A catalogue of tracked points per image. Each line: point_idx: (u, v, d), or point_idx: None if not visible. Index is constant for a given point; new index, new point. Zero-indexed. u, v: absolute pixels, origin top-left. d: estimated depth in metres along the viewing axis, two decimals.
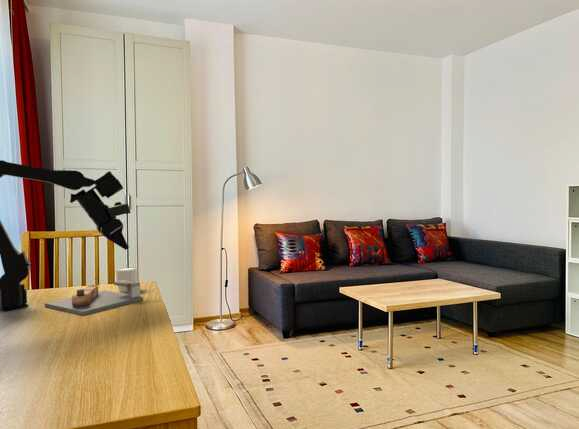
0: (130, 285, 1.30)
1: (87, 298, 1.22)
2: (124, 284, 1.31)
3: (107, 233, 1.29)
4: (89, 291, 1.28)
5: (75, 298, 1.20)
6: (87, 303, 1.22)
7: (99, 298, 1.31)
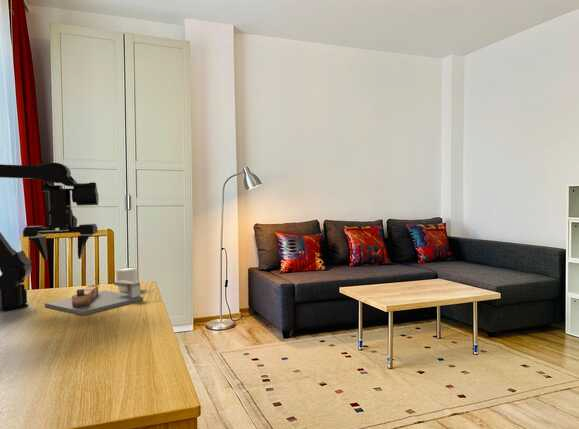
0: (130, 285, 1.30)
1: (87, 298, 1.22)
2: (124, 284, 1.31)
3: (93, 232, 1.29)
4: (89, 291, 1.28)
5: (75, 298, 1.20)
6: (87, 303, 1.22)
7: (99, 298, 1.31)
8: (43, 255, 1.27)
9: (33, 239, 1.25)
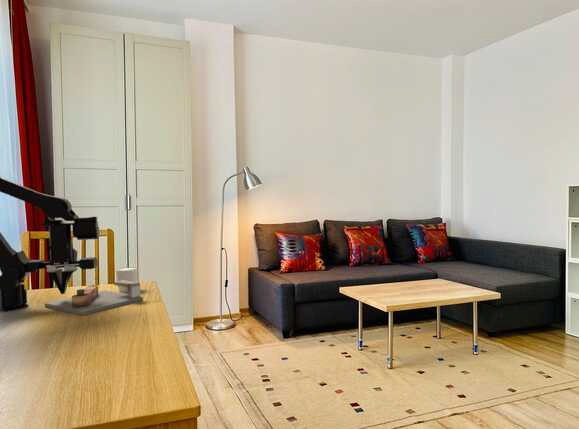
0: (130, 285, 1.30)
1: (87, 298, 1.22)
2: (124, 284, 1.31)
3: (94, 266, 1.29)
4: (89, 291, 1.28)
5: (75, 298, 1.20)
6: (87, 303, 1.22)
7: (99, 298, 1.31)
8: (60, 289, 1.28)
9: (50, 273, 1.26)
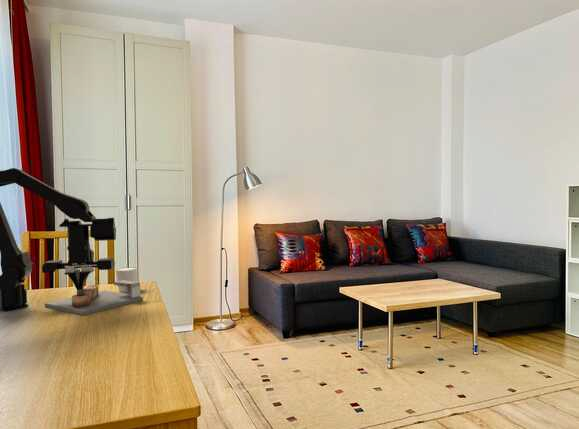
0: (130, 285, 1.30)
1: (87, 298, 1.22)
2: (124, 284, 1.31)
3: (111, 267, 1.30)
4: (89, 291, 1.28)
5: (75, 298, 1.20)
6: (87, 303, 1.22)
7: (99, 298, 1.31)
8: (78, 289, 1.30)
9: (69, 274, 1.27)
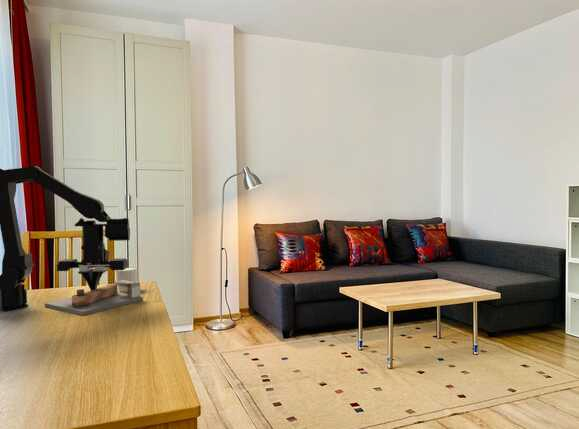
0: (130, 285, 1.30)
1: (84, 299, 1.21)
2: (124, 284, 1.31)
3: (124, 268, 1.30)
4: (96, 291, 1.27)
5: (73, 298, 1.21)
6: (84, 304, 1.21)
7: None
8: (91, 288, 1.30)
9: (82, 273, 1.28)
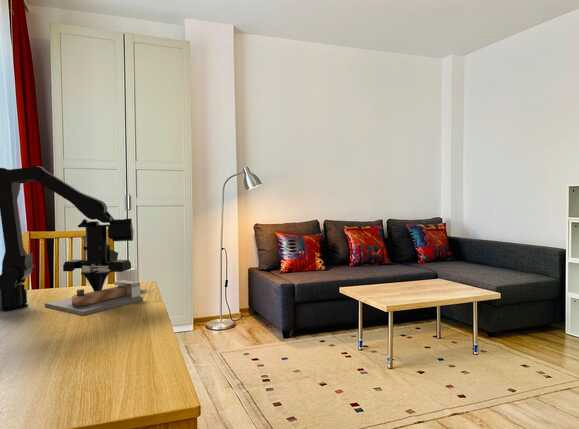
0: (130, 285, 1.30)
1: (81, 299, 1.20)
2: (124, 284, 1.31)
3: (123, 269, 1.28)
4: (100, 292, 1.26)
5: (72, 297, 1.21)
6: (81, 304, 1.20)
7: None
8: (94, 289, 1.30)
9: (84, 274, 1.28)
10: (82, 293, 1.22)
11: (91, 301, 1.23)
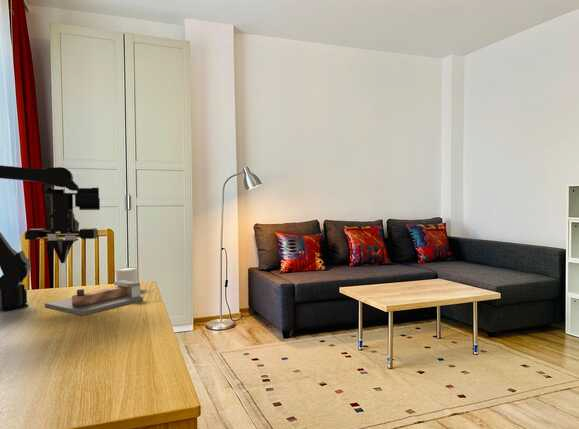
0: (130, 285, 1.30)
1: (81, 299, 1.20)
2: (124, 284, 1.31)
3: (94, 237, 1.30)
4: (100, 292, 1.26)
5: (72, 297, 1.21)
6: (81, 304, 1.20)
7: None
8: (60, 258, 1.29)
9: (51, 242, 1.27)
10: (82, 293, 1.22)
11: (91, 301, 1.23)
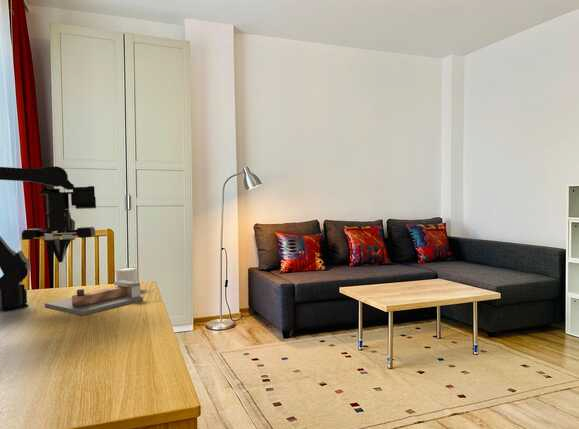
0: (130, 285, 1.30)
1: (81, 299, 1.20)
2: (124, 284, 1.31)
3: (91, 235, 1.30)
4: (100, 292, 1.26)
5: (72, 297, 1.21)
6: (81, 304, 1.20)
7: None
8: (57, 257, 1.30)
9: (48, 241, 1.27)
10: (82, 293, 1.22)
11: (91, 301, 1.23)
